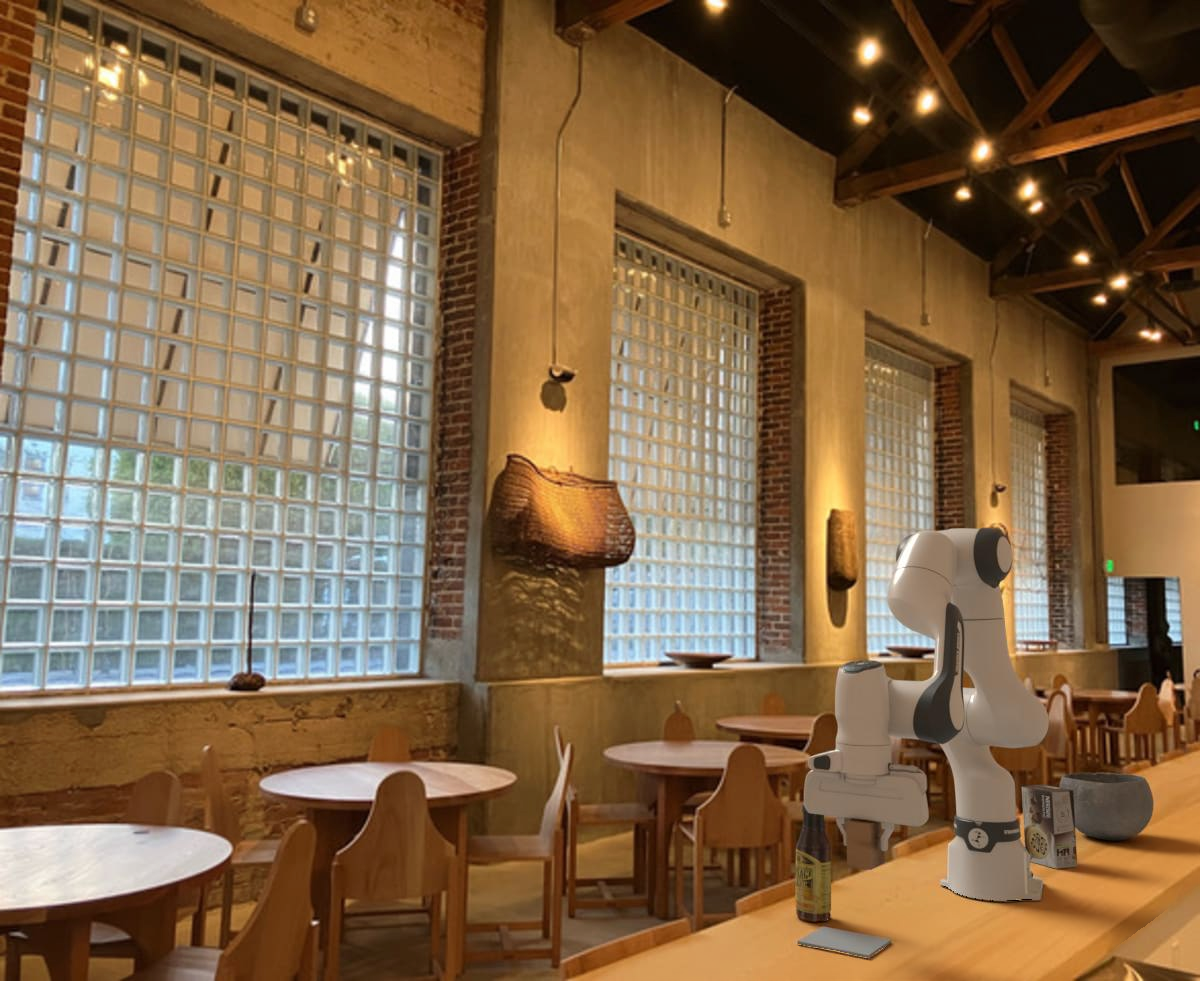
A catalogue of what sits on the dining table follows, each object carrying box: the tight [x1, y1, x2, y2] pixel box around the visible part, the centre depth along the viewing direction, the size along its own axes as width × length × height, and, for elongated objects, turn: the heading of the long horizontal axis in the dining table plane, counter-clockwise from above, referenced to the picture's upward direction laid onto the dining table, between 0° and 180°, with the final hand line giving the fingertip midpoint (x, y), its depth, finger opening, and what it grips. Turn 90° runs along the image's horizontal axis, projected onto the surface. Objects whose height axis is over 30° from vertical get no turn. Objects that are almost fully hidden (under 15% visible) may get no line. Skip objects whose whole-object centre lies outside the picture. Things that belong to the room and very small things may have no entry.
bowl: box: [1058, 771, 1154, 841], centre depth 252 cm, size 20×20×15 cm
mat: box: [797, 926, 892, 958], centre depth 169 cm, size 10×12×1 cm
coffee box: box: [1021, 784, 1078, 870], centre depth 226 cm, size 9×6×16 cm
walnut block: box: [846, 818, 886, 871], centre depth 168 cm, size 6×4×7 cm, turn 144°
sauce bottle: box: [794, 802, 832, 923], centre depth 184 cm, size 7×6×20 cm
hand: (865, 847), depth 168 cm, fingers closed on walnut block, 4 cm apart
